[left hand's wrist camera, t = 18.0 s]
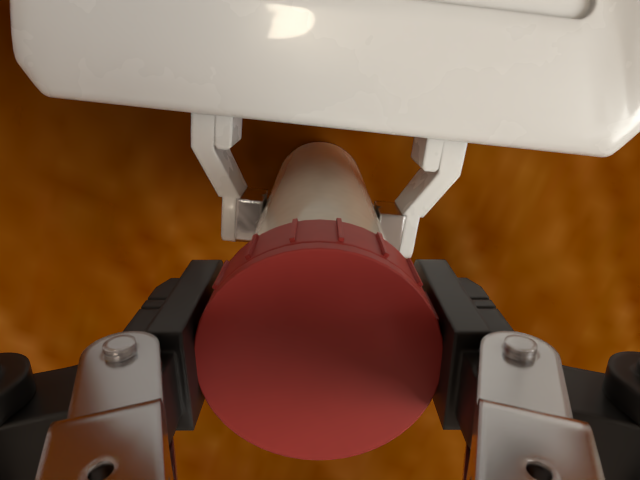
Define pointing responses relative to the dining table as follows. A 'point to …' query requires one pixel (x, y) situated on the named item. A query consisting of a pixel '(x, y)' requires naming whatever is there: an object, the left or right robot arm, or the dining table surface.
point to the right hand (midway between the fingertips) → (317, 244)
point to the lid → (318, 341)
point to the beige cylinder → (319, 190)
